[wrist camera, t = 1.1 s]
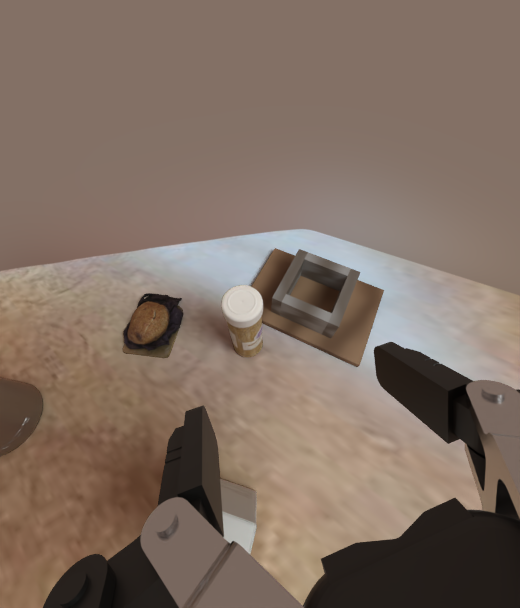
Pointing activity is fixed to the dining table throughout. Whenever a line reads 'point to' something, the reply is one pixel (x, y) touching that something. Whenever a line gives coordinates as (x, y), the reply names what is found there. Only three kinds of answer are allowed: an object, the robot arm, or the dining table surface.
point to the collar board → (318, 303)
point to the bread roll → (153, 326)
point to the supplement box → (238, 513)
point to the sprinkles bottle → (244, 319)
